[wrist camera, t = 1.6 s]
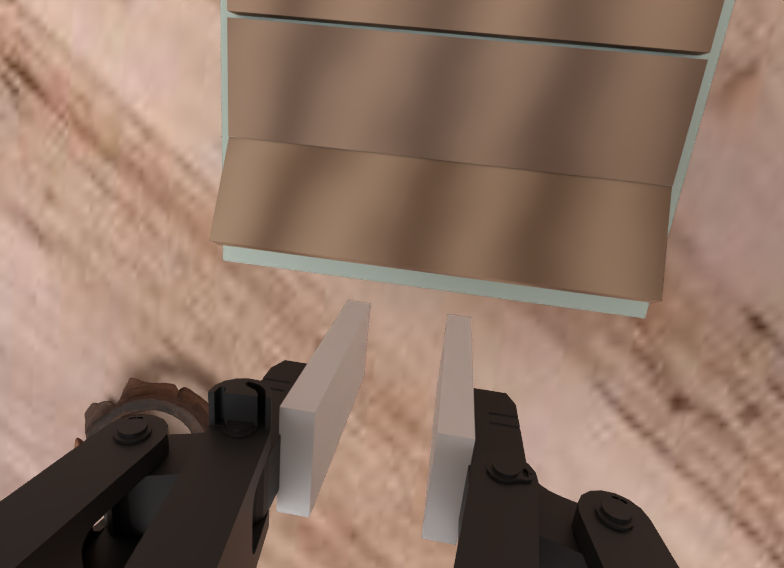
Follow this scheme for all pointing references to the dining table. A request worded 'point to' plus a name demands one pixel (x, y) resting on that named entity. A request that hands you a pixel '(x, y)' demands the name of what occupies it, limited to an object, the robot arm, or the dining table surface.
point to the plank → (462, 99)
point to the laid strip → (521, 19)
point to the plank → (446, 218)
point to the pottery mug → (149, 406)
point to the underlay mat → (461, 283)
